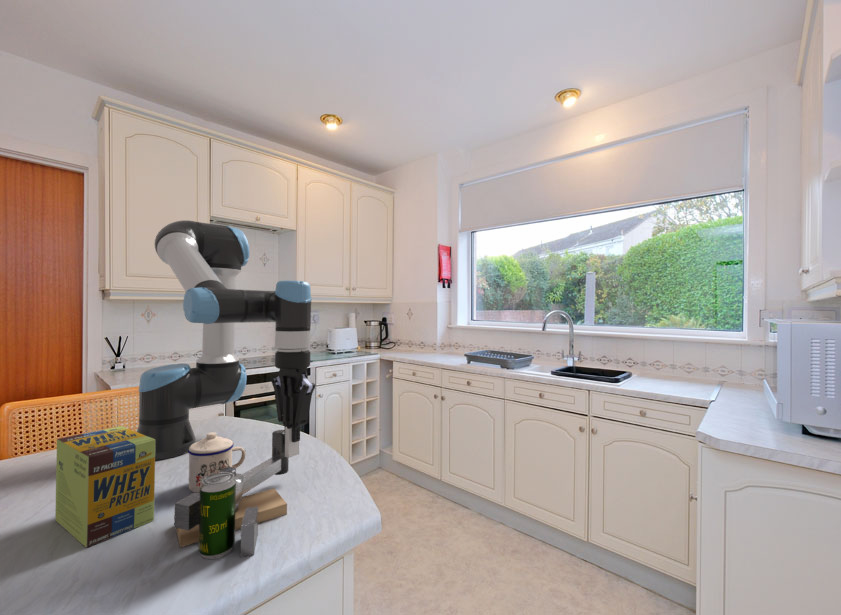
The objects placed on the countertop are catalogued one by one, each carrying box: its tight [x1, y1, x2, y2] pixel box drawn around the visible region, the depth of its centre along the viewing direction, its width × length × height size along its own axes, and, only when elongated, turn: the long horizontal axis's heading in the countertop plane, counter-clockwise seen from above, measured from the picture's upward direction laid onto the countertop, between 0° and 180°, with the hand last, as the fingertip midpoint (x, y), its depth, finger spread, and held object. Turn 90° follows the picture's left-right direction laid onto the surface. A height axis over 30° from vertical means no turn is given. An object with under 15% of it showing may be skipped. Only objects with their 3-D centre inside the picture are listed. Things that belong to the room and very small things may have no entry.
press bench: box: [175, 488, 288, 548], centre depth 74 cm, size 8×18×2 cm, turn 128°
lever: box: [173, 429, 289, 531], centre depth 77 cm, size 28×5×9 cm, turn 164°
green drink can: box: [198, 472, 236, 560], centre depth 65 cm, size 5×5×12 cm
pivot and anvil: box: [220, 467, 259, 558], centre depth 70 cm, size 15×6×10 cm, turn 38°
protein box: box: [54, 425, 156, 549], centre depth 73 cm, size 10×15×16 cm
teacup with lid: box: [187, 431, 247, 493], centre depth 89 cm, size 12×9×12 cm
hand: (292, 455), depth 87 cm, fingers closed
